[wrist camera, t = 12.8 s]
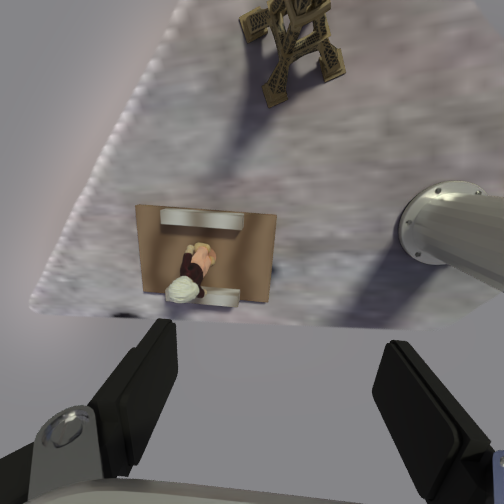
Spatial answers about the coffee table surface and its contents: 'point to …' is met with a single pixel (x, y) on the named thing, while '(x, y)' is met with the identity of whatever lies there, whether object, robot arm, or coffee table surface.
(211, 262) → the grandmother figurine
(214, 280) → the board
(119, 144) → the coffee table surface
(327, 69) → the eiffel tower
